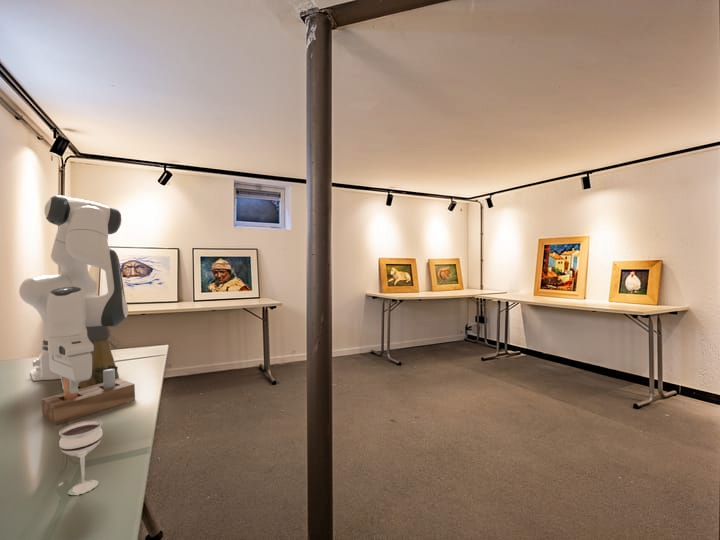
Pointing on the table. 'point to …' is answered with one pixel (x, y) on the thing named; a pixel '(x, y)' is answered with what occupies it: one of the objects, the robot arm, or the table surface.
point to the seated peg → (109, 378)
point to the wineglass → (81, 445)
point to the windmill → (99, 350)
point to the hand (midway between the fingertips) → (70, 391)
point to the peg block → (87, 401)
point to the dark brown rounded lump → (101, 374)
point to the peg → (66, 390)
